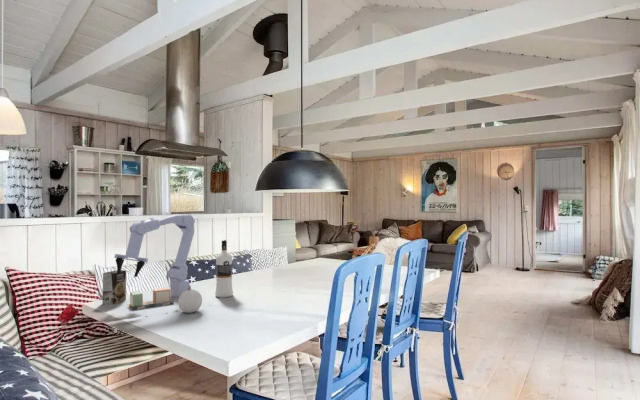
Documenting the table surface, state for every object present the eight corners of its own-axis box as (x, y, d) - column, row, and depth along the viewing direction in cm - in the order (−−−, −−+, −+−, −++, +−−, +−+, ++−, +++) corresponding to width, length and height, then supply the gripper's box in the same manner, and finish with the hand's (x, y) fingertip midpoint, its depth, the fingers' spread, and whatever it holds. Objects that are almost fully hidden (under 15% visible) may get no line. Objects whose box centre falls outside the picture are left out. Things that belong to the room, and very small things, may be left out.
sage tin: (139, 303, 186) (139, 291, 186) (142, 306, 180) (142, 293, 180) (129, 304, 184) (129, 292, 184) (132, 307, 178) (133, 294, 178)
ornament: (177, 310, 177) (177, 284, 177) (200, 308, 181) (200, 282, 181) (178, 316, 168) (178, 289, 168) (203, 314, 172) (203, 287, 172)
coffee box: (113, 306, 185) (113, 273, 185) (101, 306, 186) (102, 272, 186) (126, 302, 194) (126, 270, 194) (115, 301, 195) (115, 269, 195)
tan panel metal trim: (166, 301, 195) (166, 295, 195) (173, 306, 185) (173, 300, 185) (127, 307, 184) (127, 301, 184) (132, 312, 174) (132, 306, 174)
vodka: (231, 293, 212) (231, 239, 213) (234, 297, 203) (234, 240, 204) (214, 294, 209) (214, 239, 209) (216, 298, 200) (216, 241, 201)
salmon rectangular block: (152, 302, 189) (153, 289, 189) (167, 299, 193) (167, 287, 193) (155, 303, 185) (155, 291, 186) (170, 301, 190) (170, 289, 190)
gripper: (115, 244, 180) (108, 273, 177) (147, 249, 182) (141, 277, 179) (120, 245, 186) (112, 273, 183) (151, 249, 189) (144, 277, 186)
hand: (127, 275), depth 182 cm, fingers open, 7 cm apart
